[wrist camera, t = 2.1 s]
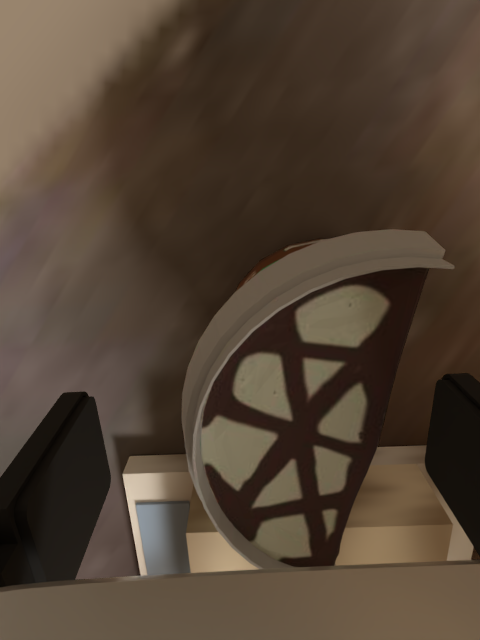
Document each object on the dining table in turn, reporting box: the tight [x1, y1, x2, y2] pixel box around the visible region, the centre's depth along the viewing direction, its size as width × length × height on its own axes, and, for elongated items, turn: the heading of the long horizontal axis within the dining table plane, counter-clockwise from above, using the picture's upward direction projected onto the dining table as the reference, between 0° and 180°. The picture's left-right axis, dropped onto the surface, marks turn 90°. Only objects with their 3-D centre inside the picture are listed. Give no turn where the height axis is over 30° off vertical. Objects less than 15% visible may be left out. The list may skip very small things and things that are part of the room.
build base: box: [123, 445, 474, 576], centre depth 23 cm, size 20×14×6 cm
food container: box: [182, 229, 455, 569], centre depth 16 cm, size 12×6×10 cm, turn 171°
